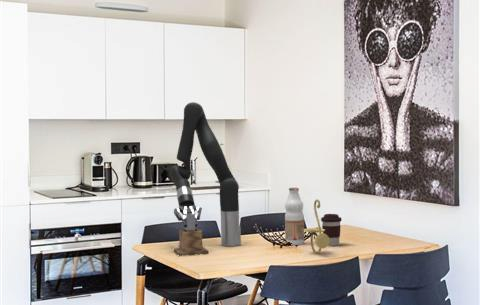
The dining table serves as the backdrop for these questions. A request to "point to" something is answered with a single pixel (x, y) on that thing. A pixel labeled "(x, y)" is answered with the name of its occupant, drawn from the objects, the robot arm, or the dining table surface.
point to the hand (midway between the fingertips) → (191, 226)
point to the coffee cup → (332, 228)
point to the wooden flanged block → (190, 243)
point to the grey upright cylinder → (190, 222)
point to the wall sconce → (322, 238)
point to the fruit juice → (294, 218)
